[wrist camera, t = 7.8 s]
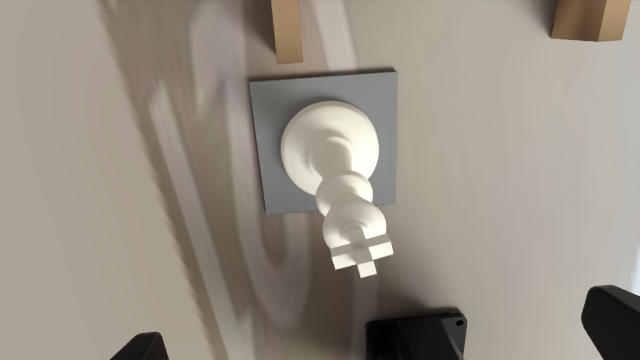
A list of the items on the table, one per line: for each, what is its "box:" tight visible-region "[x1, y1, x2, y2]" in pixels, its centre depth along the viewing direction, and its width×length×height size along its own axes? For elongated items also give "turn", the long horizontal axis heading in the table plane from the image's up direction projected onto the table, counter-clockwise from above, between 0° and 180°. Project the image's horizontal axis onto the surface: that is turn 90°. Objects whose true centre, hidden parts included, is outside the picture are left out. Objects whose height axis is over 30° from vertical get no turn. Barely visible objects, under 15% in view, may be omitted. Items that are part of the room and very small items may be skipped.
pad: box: [249, 71, 398, 215], centre depth 19 cm, size 7×7×1 cm
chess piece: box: [281, 101, 393, 278], centre depth 15 cm, size 5×5×10 cm
